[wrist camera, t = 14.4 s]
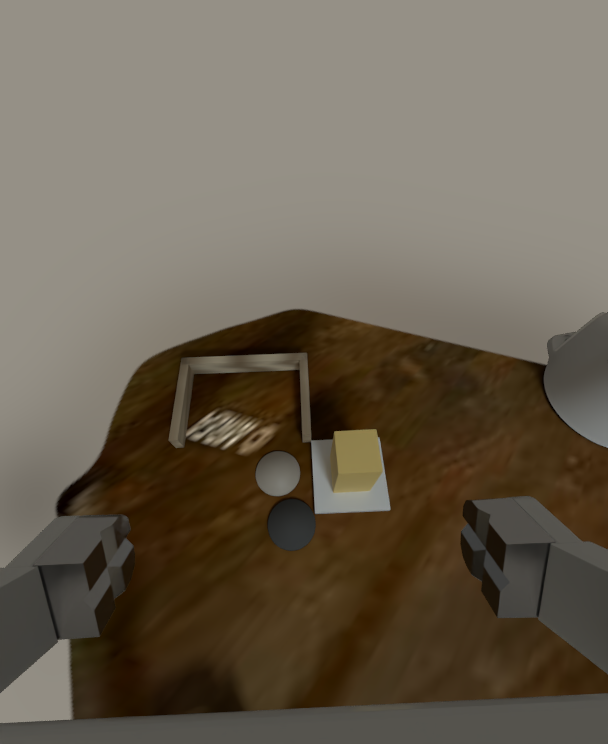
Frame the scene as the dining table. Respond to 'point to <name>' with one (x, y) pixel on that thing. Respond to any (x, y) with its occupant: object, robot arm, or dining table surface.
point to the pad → (346, 500)
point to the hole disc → (291, 524)
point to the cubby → (228, 366)
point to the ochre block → (355, 460)
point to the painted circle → (277, 473)
